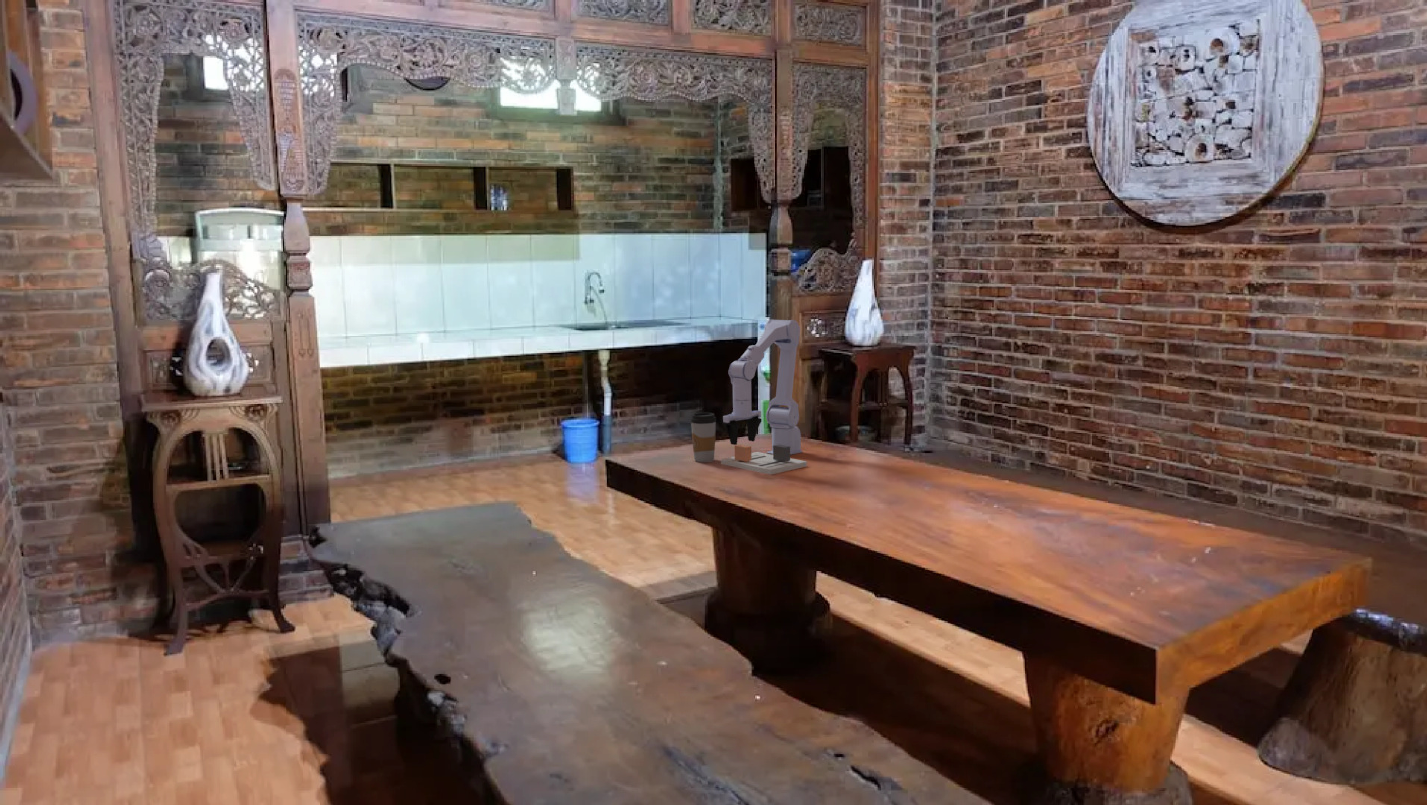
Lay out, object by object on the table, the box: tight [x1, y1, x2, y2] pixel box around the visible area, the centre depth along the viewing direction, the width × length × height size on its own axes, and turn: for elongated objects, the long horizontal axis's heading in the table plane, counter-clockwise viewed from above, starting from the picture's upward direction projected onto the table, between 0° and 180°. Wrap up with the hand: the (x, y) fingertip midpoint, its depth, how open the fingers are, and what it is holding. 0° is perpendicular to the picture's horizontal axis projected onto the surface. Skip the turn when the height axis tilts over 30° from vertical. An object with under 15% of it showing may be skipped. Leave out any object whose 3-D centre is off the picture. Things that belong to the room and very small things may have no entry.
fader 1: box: [734, 444, 752, 461], centre depth 309 cm, size 2×5×4 cm, turn 42°
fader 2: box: [772, 444, 791, 462], centre depth 307 cm, size 2×5×4 cm, turn 42°
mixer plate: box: [720, 451, 808, 475], centre depth 309 cm, size 16×22×2 cm
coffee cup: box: [690, 412, 717, 463], centre depth 317 cm, size 8×8×15 cm
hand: (742, 442), depth 308 cm, fingers open, 7 cm apart
